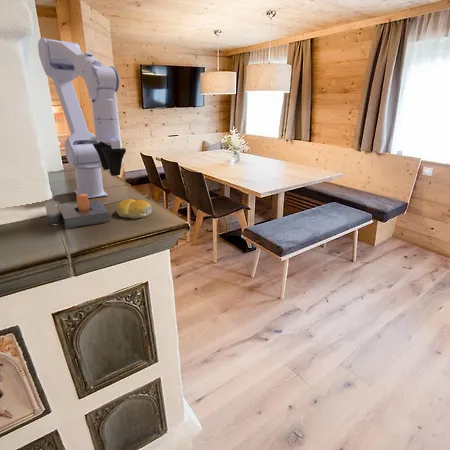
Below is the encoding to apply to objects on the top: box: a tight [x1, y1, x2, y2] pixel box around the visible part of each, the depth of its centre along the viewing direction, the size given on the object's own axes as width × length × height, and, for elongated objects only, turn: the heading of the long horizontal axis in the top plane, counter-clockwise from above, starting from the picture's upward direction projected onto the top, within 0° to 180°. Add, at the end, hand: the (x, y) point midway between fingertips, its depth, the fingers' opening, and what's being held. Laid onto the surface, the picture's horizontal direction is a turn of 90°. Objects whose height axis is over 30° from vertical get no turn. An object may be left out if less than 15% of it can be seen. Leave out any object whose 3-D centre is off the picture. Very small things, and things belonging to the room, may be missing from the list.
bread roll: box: [116, 198, 153, 220], centre depth 82 cm, size 8×9×4 cm
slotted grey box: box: [44, 200, 111, 230], centre depth 76 cm, size 10×13×5 cm
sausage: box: [75, 194, 90, 212], centre depth 77 cm, size 3×3×6 cm
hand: (111, 172), depth 83 cm, fingers open, 7 cm apart
